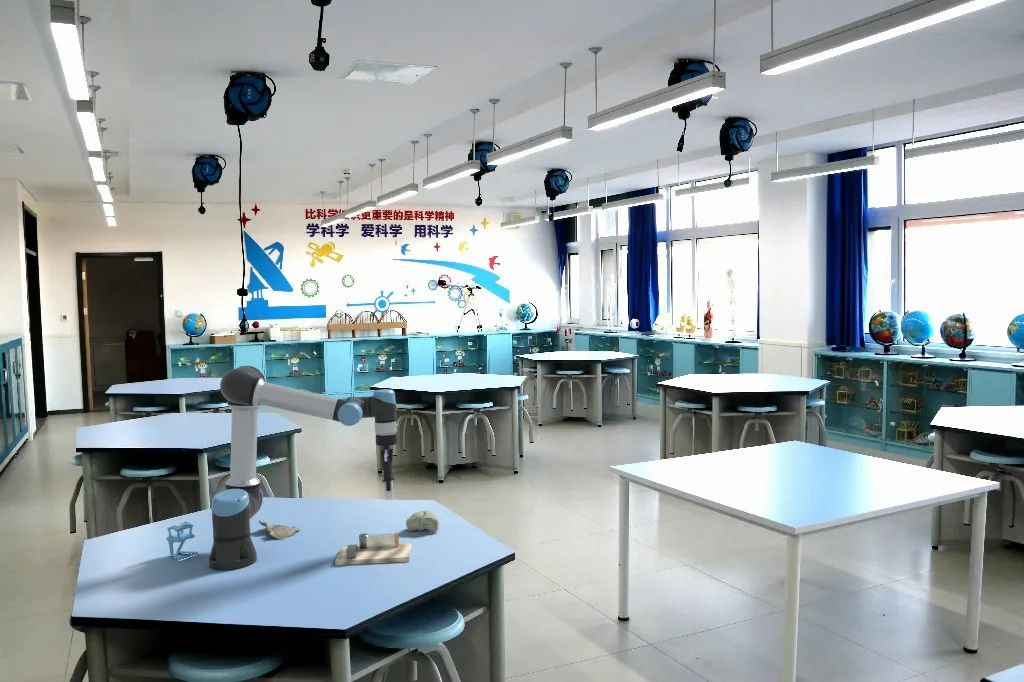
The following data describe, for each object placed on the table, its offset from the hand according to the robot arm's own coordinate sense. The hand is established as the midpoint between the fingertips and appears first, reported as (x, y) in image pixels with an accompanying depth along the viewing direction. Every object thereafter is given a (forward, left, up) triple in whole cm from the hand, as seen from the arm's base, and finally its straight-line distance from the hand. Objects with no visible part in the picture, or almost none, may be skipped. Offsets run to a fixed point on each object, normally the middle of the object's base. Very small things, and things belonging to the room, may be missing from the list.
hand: (389, 499), depth 272 cm
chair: (-71, -4, -16) cm, 73 cm away
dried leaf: (-43, +18, -16) cm, 50 cm away
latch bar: (-3, -9, -14) cm, 17 cm away
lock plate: (-4, -14, -16) cm, 22 cm away
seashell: (+11, +12, -16) cm, 23 cm away
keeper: (-11, -17, -14) cm, 25 cm away
